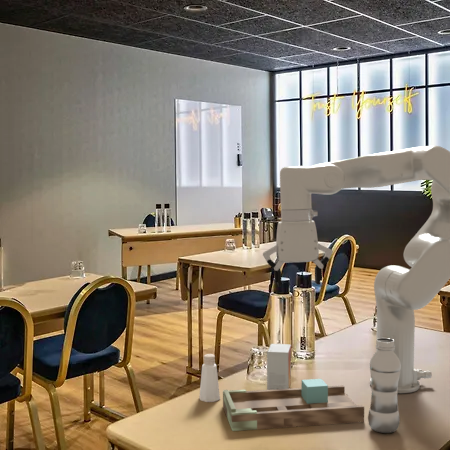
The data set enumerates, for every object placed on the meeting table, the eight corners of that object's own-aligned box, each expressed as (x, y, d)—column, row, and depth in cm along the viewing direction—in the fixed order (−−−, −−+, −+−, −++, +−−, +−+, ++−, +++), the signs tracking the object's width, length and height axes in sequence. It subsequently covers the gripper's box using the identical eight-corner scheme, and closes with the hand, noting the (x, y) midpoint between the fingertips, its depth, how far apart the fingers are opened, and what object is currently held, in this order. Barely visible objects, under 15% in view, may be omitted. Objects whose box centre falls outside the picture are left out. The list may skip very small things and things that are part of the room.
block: (321, 394, 148) (321, 378, 147) (327, 402, 143) (327, 385, 142) (301, 395, 147) (301, 379, 147) (307, 403, 142) (307, 387, 142)
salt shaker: (204, 403, 148) (204, 359, 147) (195, 396, 152) (194, 353, 151) (224, 399, 150) (224, 356, 149) (214, 392, 155) (214, 350, 154)
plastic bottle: (363, 425, 135) (364, 336, 133) (393, 423, 135) (394, 335, 133) (373, 437, 128) (374, 344, 126) (404, 436, 129) (406, 343, 127)
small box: (288, 393, 154) (288, 352, 154) (266, 391, 156) (266, 351, 155) (291, 382, 162) (291, 344, 161) (270, 381, 163) (270, 343, 163)
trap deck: (343, 399, 150) (343, 381, 150) (364, 421, 136) (364, 402, 136) (223, 406, 146) (222, 388, 145) (232, 431, 132) (232, 410, 132)
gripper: (327, 213, 154) (329, 280, 156) (260, 216, 153) (262, 283, 155) (334, 215, 147) (336, 285, 148) (263, 219, 146) (265, 289, 147)
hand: (298, 284), depth 151 cm, fingers open, 9 cm apart
